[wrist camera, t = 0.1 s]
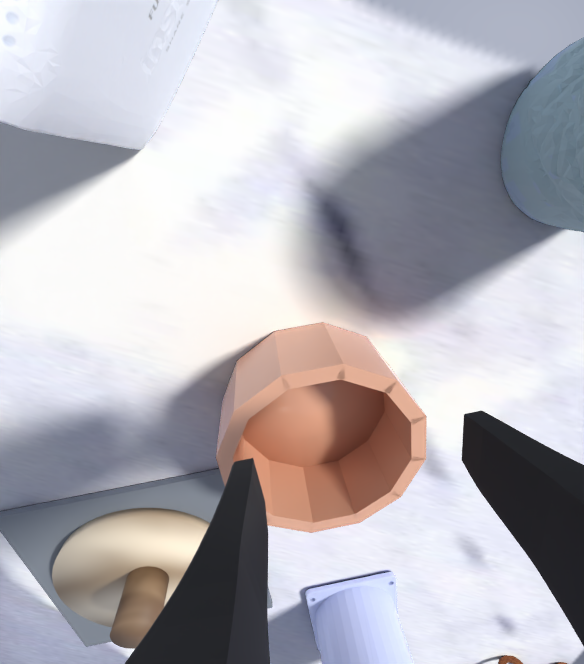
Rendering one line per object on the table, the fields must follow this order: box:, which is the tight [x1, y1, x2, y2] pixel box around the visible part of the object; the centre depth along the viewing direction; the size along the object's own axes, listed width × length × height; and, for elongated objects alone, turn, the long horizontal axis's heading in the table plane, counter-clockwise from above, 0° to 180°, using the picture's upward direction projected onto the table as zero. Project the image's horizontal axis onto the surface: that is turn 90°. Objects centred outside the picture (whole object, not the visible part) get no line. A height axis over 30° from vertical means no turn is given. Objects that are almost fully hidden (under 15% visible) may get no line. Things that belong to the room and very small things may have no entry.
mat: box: [0, 469, 272, 647], centre depth 27 cm, size 16×16×1 cm
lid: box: [52, 508, 210, 648], centre depth 25 cm, size 13×13×4 cm
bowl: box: [216, 322, 426, 533], centre depth 21 cm, size 11×11×5 cm
